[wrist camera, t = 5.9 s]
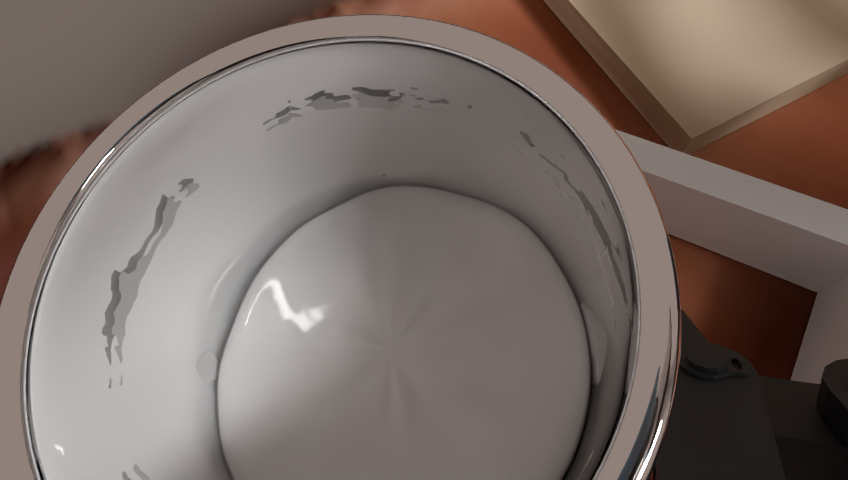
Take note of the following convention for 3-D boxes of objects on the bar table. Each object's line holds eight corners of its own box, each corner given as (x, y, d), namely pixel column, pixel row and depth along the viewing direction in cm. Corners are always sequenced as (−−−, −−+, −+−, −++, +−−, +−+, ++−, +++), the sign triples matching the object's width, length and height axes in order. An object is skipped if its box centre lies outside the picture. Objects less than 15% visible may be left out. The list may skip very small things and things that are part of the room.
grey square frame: (863, 278, 18) (940, 241, 15) (639, 1061, 12) (689, 1281, 9) (358, 87, 25) (337, 33, 22) (50, 531, 19) (-44, 547, 15)
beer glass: (580, 370, 18) (825, 124, 5) (490, 560, 16) (446, 1105, 3) (418, 283, 20) (254, -63, 7) (321, 442, 19) (-179, 413, 5)
